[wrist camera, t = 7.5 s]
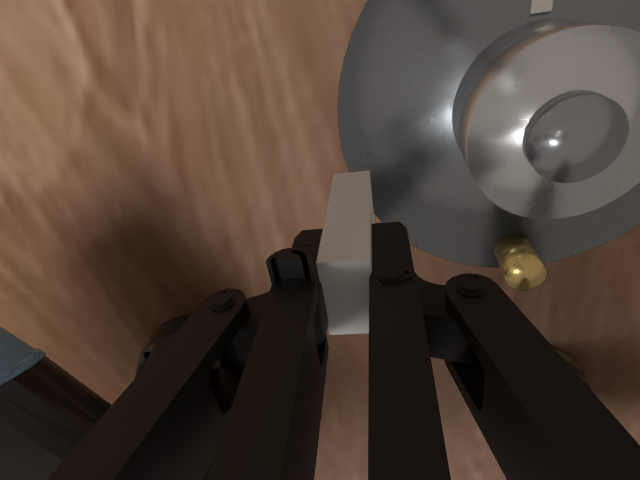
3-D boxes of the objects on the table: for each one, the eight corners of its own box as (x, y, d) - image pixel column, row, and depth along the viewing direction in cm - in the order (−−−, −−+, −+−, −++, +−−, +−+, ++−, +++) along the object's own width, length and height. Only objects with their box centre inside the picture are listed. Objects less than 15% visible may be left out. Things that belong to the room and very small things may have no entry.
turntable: (357, 259, 32) (354, 299, 28) (316, -85, 21) (300, -103, 17) (669, 243, 28) (719, 287, 24) (823, -194, 17) (967, -252, 13)
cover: (452, 188, 26) (470, 236, 21) (450, 35, 22) (472, 50, 16) (607, 171, 24) (667, 219, 19) (641, 1, 20) (731, 5, 15)
